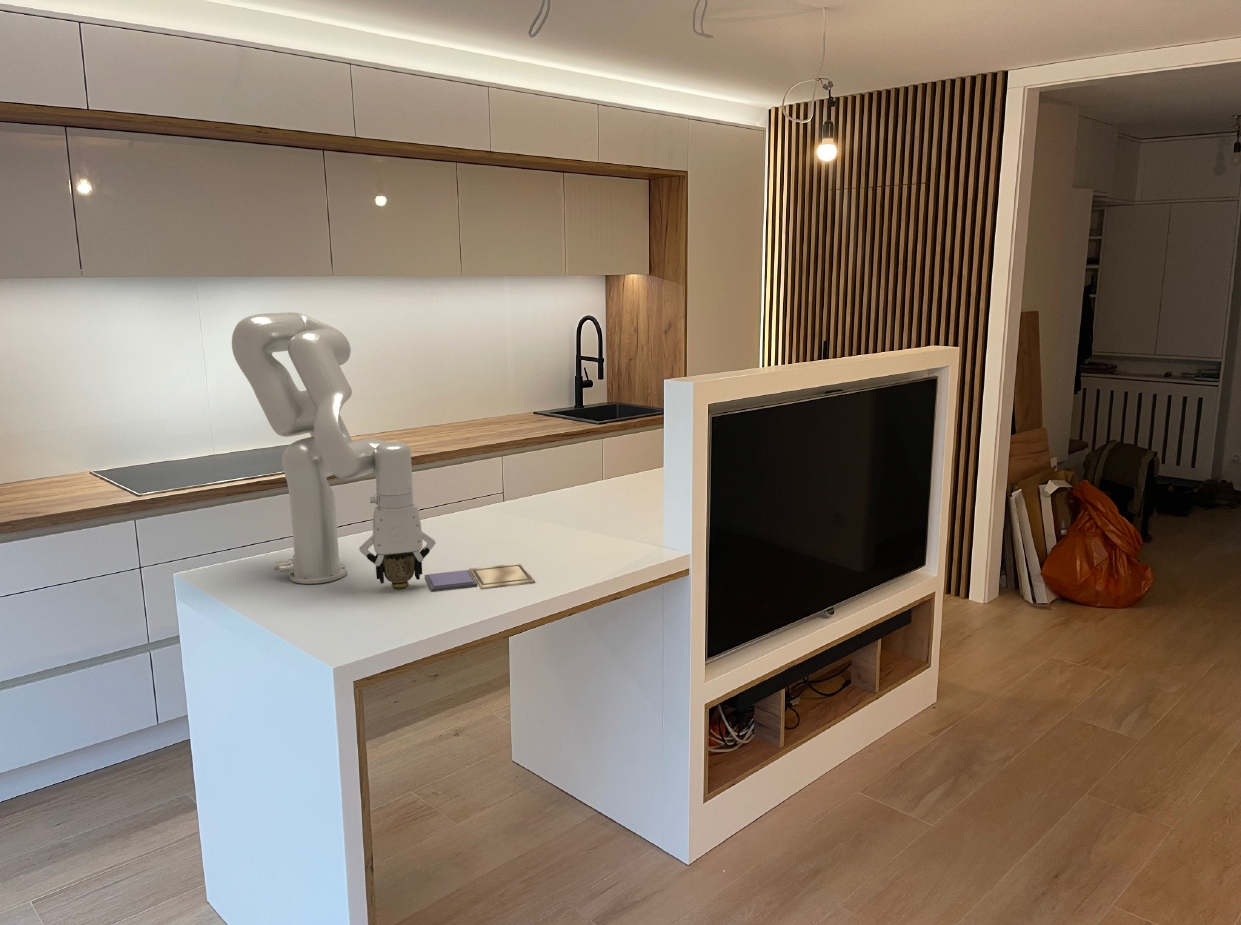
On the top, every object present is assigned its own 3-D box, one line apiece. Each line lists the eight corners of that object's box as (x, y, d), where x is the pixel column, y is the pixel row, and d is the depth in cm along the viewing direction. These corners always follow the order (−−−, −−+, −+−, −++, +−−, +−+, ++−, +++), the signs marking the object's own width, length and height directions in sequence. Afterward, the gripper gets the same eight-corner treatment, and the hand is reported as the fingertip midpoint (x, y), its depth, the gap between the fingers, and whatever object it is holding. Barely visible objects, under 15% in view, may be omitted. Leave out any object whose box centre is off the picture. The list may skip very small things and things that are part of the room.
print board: (481, 589, 202) (481, 586, 202) (469, 570, 215) (469, 568, 214) (535, 582, 206) (535, 580, 205) (520, 564, 218) (520, 562, 218)
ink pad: (431, 591, 200) (431, 587, 200) (424, 577, 209) (424, 573, 209) (477, 586, 203) (477, 582, 203) (468, 572, 213) (468, 568, 212)
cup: (408, 594, 198) (406, 558, 197) (376, 592, 200) (374, 556, 198) (422, 583, 206) (421, 548, 204) (391, 581, 207) (389, 546, 205)
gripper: (354, 507, 192) (359, 589, 196) (438, 500, 198) (442, 580, 202) (351, 499, 199) (357, 579, 203) (433, 493, 205) (437, 570, 209)
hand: (399, 579), depth 202 cm, fingers closed on cup, 7 cm apart
